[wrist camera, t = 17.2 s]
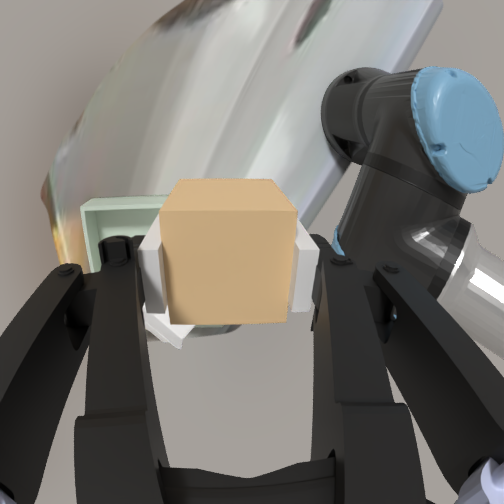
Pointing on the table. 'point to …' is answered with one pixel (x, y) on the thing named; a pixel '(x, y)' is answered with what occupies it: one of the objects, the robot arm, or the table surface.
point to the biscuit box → (227, 251)
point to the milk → (166, 328)
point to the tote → (119, 222)
